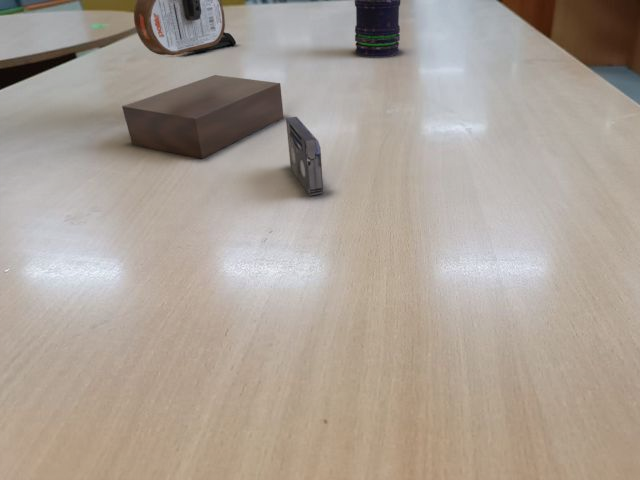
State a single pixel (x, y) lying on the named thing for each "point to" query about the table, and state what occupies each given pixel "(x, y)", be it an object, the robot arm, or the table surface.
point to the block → (203, 115)
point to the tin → (178, 26)
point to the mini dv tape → (305, 156)
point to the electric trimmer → (220, 42)
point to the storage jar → (377, 28)
